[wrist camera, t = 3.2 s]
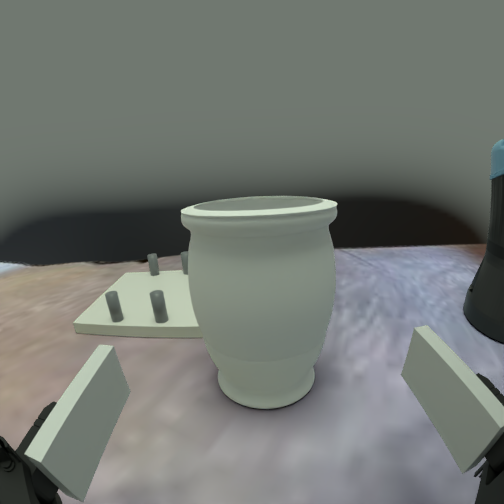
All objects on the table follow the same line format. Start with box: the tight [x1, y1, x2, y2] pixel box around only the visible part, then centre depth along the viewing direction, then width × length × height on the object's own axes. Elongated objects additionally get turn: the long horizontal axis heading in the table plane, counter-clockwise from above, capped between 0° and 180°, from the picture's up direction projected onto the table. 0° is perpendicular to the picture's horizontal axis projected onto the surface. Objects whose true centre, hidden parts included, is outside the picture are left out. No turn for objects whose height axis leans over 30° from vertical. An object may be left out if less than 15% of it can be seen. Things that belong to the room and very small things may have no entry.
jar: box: [181, 196, 337, 409], centre depth 21 cm, size 11×10×15 cm
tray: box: [73, 252, 203, 338], centre depth 38 cm, size 19×19×5 cm
